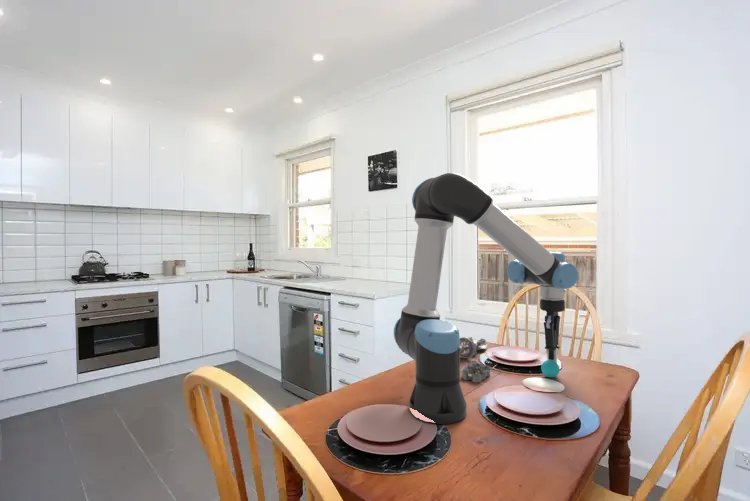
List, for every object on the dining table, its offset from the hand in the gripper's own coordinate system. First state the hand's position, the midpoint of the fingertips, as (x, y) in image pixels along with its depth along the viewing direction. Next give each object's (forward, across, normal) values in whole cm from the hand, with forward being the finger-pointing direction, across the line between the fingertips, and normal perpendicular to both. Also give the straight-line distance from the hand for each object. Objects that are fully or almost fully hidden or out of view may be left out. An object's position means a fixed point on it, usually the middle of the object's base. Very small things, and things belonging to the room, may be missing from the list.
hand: (552, 368), depth 129 cm
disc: (+2, -12, 0) cm, 12 cm away
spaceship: (+2, -1, +31) cm, 31 cm away
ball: (-1, -3, 0) cm, 3 cm away
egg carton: (+2, -17, +20) cm, 26 cm away
